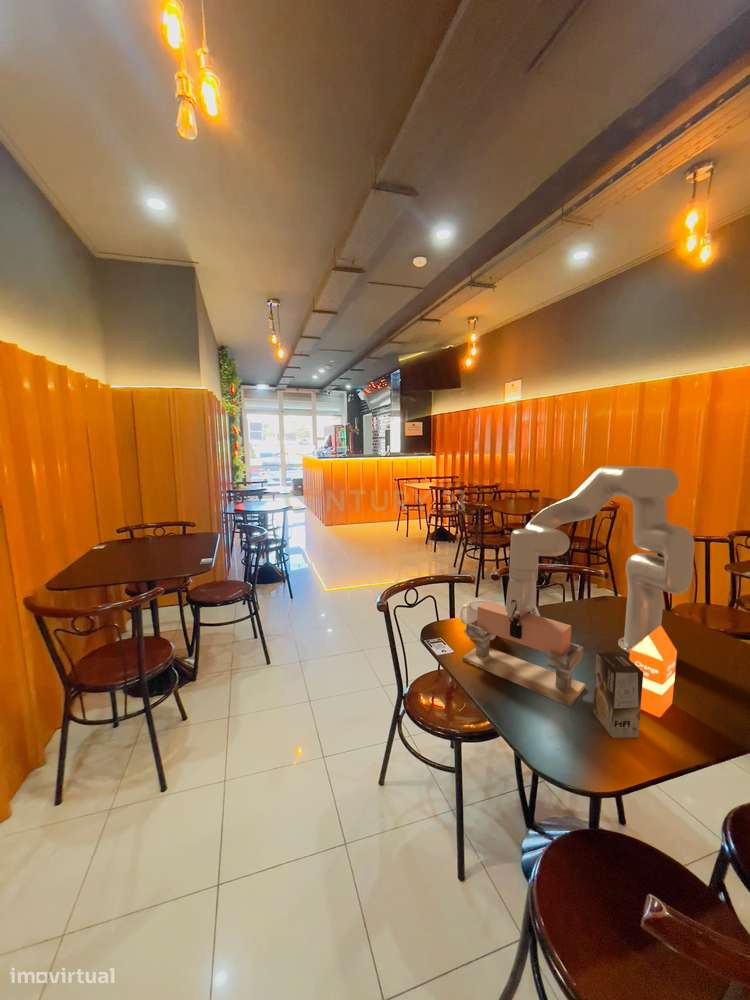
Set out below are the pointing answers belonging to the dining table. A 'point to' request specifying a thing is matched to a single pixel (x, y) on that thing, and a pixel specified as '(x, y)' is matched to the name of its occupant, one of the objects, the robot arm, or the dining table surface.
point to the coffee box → (618, 694)
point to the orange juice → (656, 670)
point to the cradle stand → (528, 667)
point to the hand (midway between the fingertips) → (520, 632)
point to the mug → (471, 612)
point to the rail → (526, 629)
